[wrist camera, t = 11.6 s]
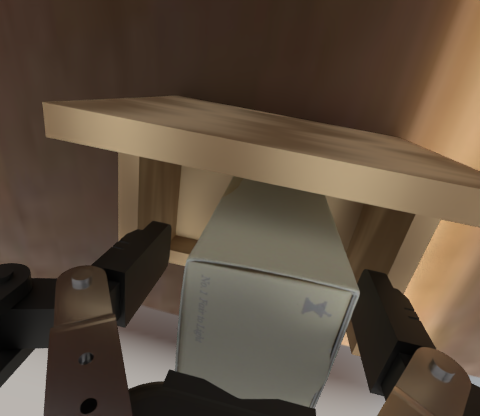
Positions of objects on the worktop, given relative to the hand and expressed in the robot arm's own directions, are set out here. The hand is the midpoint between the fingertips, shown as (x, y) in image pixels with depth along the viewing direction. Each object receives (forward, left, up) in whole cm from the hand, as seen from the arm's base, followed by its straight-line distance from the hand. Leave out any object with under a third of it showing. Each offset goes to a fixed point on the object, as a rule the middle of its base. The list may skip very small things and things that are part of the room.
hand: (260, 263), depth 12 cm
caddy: (0, 0, -9) cm, 9 cm away
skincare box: (0, 0, -8) cm, 8 cm away
